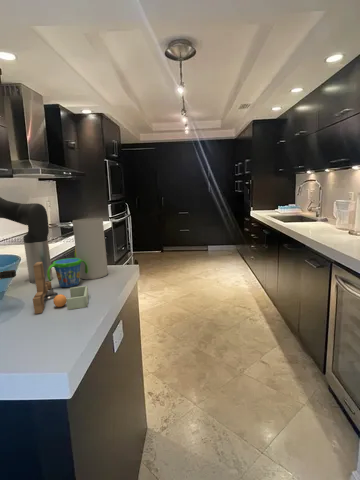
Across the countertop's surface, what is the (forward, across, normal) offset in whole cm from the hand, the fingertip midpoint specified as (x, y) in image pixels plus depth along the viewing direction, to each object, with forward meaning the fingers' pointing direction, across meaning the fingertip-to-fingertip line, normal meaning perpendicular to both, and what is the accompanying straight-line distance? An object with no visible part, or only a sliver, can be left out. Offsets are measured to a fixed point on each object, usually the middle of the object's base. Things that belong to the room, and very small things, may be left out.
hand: (15, 273), depth 96 cm
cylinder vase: (+23, +29, +12) cm, 39 cm away
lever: (+7, 0, +11) cm, 13 cm away
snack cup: (+14, +19, +12) cm, 26 cm away
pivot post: (+7, +7, +12) cm, 15 cm away
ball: (+13, -5, +10) cm, 17 cm away
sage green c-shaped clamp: (+19, -3, +12) cm, 22 cm away
